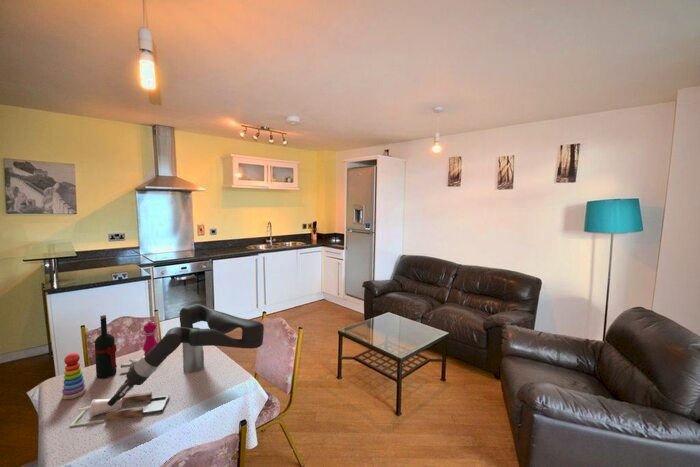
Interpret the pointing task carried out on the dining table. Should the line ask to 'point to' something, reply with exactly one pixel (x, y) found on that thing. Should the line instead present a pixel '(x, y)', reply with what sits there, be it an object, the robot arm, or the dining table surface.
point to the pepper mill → (149, 336)
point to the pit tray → (156, 405)
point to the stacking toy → (73, 377)
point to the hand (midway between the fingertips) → (109, 404)
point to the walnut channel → (130, 412)
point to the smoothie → (102, 406)
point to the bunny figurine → (130, 363)
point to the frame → (84, 422)
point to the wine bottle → (105, 352)
